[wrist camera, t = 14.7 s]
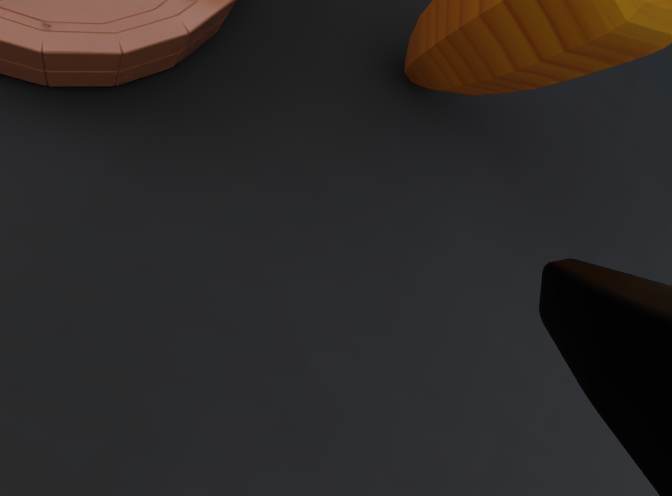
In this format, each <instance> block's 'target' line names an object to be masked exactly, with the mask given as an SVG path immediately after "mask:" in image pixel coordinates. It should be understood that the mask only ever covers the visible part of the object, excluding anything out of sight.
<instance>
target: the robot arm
mask: <svg viewBox="0 0 672 496" xmlns="http://www.w3.org/2000/svg"><path fill="white" fill-rule="evenodd" d="M539 311H540V316H541V319H542V322H543V324H544V326H545V327H546V329H547V331H548V332H549V334H550V336H551V337H552V339H553V341H554V343H555V344H556V346H557V348H558V349H559V351H560V353H561V354H562V356H563V358H564V359H565V361H566V363H567V365H568V366H569V368H570V370H571V371H572V373H573V375H574V376H575V378H576V380H577V382H578V383H579V385H580V387H581V388H582V390H583V391H584V393H585V394H586V396H587V398H588V399H589V401H590V402H591V403H592V405H593V406H594V408H595V409H596V410H597V412H598V413H599V415H600V416H601V417H602V419H603V420H604V421H605V423H606V424H607V425H608V427H609V428H610V429H611V431H612V432H613V433H614V435H615V436H616V437H617V439H618V440H619V441H620V443H621V444H622V445H623V447H624V448H625V450H626V451H627V452H628V454H629V455H630V456H631V458H632V459H633V460H634V462H635V463H636V464H637V466H638V467H639V468H640V470H641V471H642V472H643V474H644V475H645V476H646V478H647V479H648V480H649V482H650V483H651V484H652V486H653V487H654V488H655V490H656V491H657V492H658V494H659V495H660V496H672V286H671V285H667V284H664V283H660V282H656V281H653V280H649V279H645V278H642V277H638V276H634V275H631V274H627V273H623V272H620V271H616V270H612V269H609V268H605V267H601V266H598V265H594V264H591V263H587V262H583V261H580V260H576V259H564V260H559V261H553V262H549V263H548V264H546V265H545V267H544V269H543V273H542V282H541V292H540V303H539Z"/></svg>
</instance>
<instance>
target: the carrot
mask: <svg viewBox="0 0 672 496" xmlns="http://www.w3.org/2000/svg"><path fill="white" fill-rule="evenodd" d="M671 43H672V0H432V2H431V3H430V4H429V6H428V7H427V8H426V9H425V11H424V12H423V13H422V15H421V16H420V17H419V19H418V22H417V24H416V26H415V28H414V31H413V33H412V35H411V37H410V40H409V45H408V49H407V54H406V58H405V74H406V75H407V77H408V78H409V79H410V81H411V82H412V83H415V84H417V85H419V86H422V87H424V88H429V89H434V90H439V91H444V92H451V93H458V94H465V95H486V94H499V93H508V92H515V91H523V90H530V89H537V88H542V87H545V86H549V85H552V84H556V83H559V82H563V81H566V80H570V79H573V78H577V77H581V76H584V75H588V74H591V73H594V72H597V71H600V70H603V69H606V68H609V67H613V66H616V65H619V64H622V63H625V62H628V61H631V60H634V59H637V58H641V57H644V56H647V55H650V54H652V53H654V52H656V51H659V50H661V49H663V48H665V47H666V46H668V45H669V44H671Z"/></svg>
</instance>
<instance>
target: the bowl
mask: <svg viewBox="0 0 672 496" xmlns="http://www.w3.org/2000/svg"><path fill="white" fill-rule="evenodd" d="M236 1H237V0H0V74H4V75H8V76H11V77H15V78H18V79H22V80H26V81H29V82H33V83H36V84H40V85H48V86H50V87H68V86H115V85H116V86H118V85H121V84H124V83H127V82H130V81H133V80H136V79H139V78H142V77H145V76H148V75H151V74H154V73H158V72H161V71H164V70H167V69H170V68H171V67H172V66H175V65H176V64H178V63H179V62H180V61H181V60H183V59H184V58H185V57H187V56H188V55H189V54H190V53H192V52H193V51H194V50H196V49H197V48H198V47H199V46H201V45H202V44H203V43H204V42H206V41H207V40H208V39H210V38H211V37H212V36H213V35H214V34H215V33H216V32H217V31H218V29H219V28H220V26H221V24H222V23H223V21H224V20H225V18H226V16H227V15H228V13H229V12H230V10H231V8H232V7H233V5H234V4H235V2H236Z"/></svg>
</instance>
